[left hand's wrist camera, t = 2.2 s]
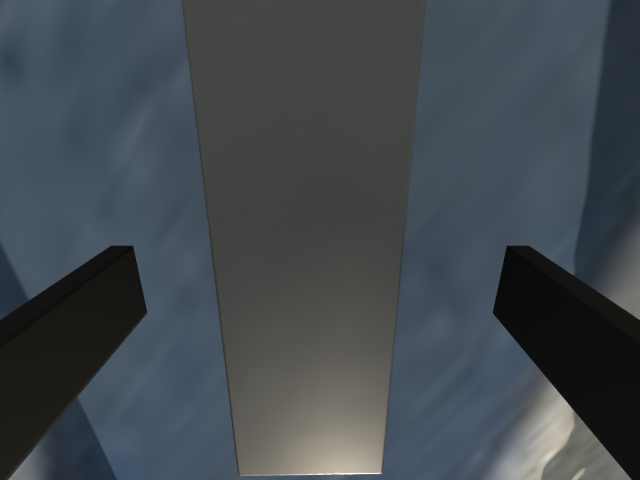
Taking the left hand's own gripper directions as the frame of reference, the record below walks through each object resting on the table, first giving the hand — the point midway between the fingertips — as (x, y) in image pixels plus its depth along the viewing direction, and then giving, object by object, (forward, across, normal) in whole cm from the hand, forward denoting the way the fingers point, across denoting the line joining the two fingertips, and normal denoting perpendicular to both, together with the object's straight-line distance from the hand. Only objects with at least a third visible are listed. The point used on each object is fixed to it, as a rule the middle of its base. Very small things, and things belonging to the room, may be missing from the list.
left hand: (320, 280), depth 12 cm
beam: (+6, 0, -27) cm, 28 cm away
